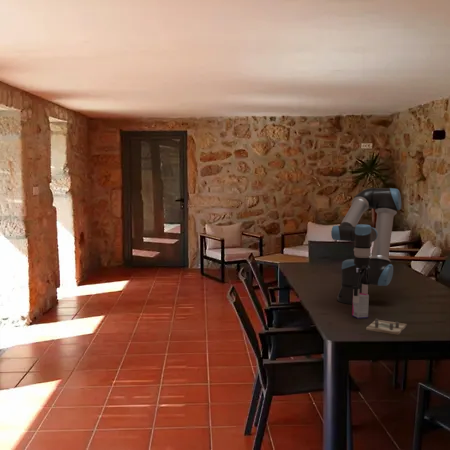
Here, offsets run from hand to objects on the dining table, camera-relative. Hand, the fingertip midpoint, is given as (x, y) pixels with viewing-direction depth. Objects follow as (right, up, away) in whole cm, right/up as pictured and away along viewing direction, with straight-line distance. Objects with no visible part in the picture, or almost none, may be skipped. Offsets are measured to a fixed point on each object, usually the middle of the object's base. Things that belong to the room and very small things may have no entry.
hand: (360, 300), depth 261 cm
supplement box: (0, -9, +1) cm, 9 cm away
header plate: (+8, -10, -17) cm, 21 cm away
